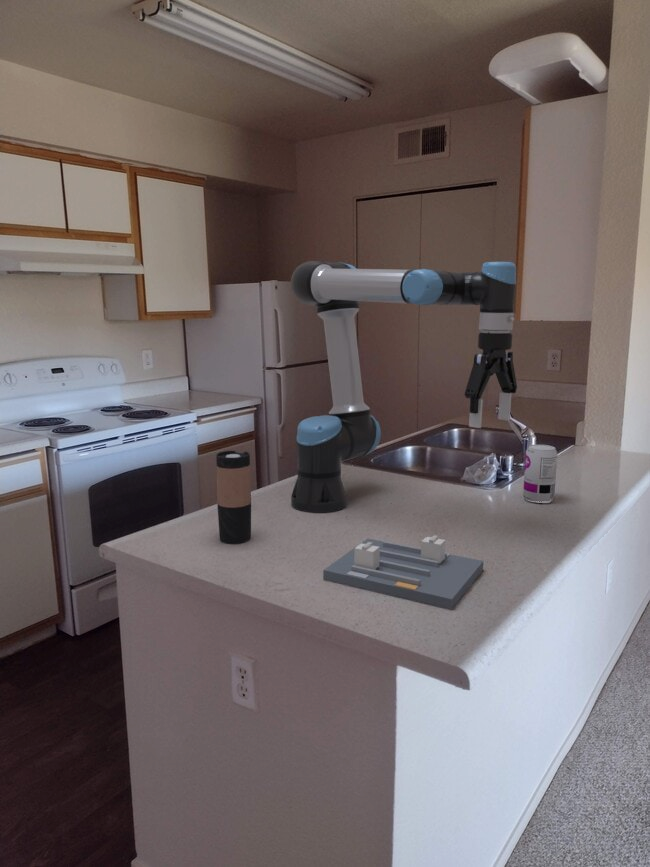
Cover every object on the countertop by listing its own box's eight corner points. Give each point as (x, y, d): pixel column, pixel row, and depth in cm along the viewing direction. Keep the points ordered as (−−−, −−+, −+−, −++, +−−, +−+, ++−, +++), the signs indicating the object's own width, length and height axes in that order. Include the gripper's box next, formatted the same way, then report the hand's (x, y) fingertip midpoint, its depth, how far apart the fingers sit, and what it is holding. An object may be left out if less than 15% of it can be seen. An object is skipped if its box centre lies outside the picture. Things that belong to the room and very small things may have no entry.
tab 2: (420, 559, 131) (421, 538, 130) (426, 555, 133) (426, 533, 132) (439, 563, 129) (440, 541, 128) (444, 558, 131) (445, 537, 130)
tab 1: (354, 567, 127) (354, 545, 126) (361, 562, 129) (361, 540, 128) (372, 571, 125) (373, 548, 124) (379, 566, 127) (379, 544, 127)
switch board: (323, 579, 127) (323, 565, 126) (367, 547, 144) (367, 534, 143) (451, 609, 114) (452, 593, 114) (483, 570, 131) (483, 556, 131)
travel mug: (224, 546, 144) (222, 459, 140) (214, 536, 151) (211, 452, 147) (256, 541, 147) (255, 455, 143) (245, 530, 154) (243, 449, 150)
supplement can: (521, 502, 176) (525, 449, 173) (524, 494, 184) (527, 443, 181) (553, 506, 173) (557, 451, 170) (554, 497, 181) (558, 445, 178)
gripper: (482, 334, 136) (476, 433, 140) (535, 330, 154) (529, 418, 158) (451, 332, 141) (447, 428, 145) (506, 329, 159) (501, 414, 163)
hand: (489, 423), depth 152 cm, fingers open, 13 cm apart
